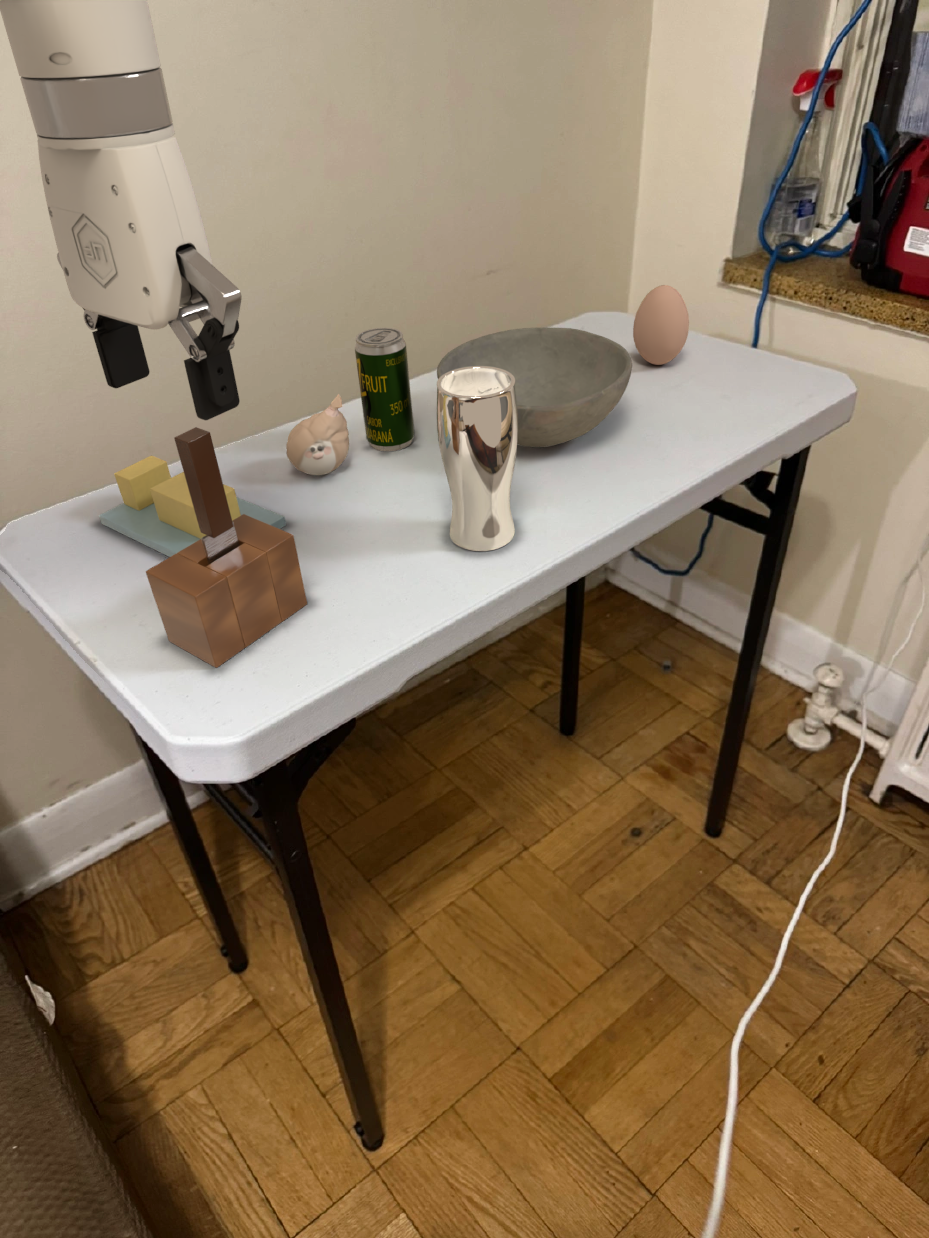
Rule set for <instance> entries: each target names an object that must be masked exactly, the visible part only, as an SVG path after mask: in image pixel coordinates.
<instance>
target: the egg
mask: <svg viewBox="0 0 929 1238" xmlns="http://www.w3.org/2000/svg"><path fill="white" fill-rule="evenodd" d="M686 304H687V303H686V302H685V300H684V297H683V296H682V295H681V293H680V292H679V291H678V289H676V288H675V287H673V286H671V285H668V284H661V285H659V286H656V287H654V288H653V289H651V290H649V292H647V293H646V295H645V297H644V298H643V299H642V301H641V302H640V305H639V307H638V309H637V311H636V313H635V315H634V320H633V327H632V338H633V342H634V346H635V348H636V350H637V352H638V354H639V355H640V356H641V358H643V359H644V360H645V361H646V362H648V363H650V364H651V365H655V366H661V365H666V364H668V363H670V362H671V361H673V360H674V359H675V358H676V357H677V356H678V355H679V354H680V353H681V351H682V350H683V348H684V347H685V345H686V343H687V341H688V336H689V332H690V331H689V330H690V329H689V328H690V318H689V317H690V316H689V311H688V309H687V305H686Z"/></svg>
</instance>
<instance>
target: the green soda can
mask: <svg viewBox="0 0 929 1238" xmlns="http://www.w3.org/2000/svg"><path fill="white" fill-rule="evenodd" d="M407 349H408V348H407V342H406V341H405V339H404V333H403V332H402V331H401V330H400V329H397V328H392V327H376V328H370V329H367V330H363V331H361V332H359V333H358V334H357V335H356V336H355V346H354V355H355V363H356V369H357V376H358V385H359V392H360V400H361V407H362V414H363V415H362V416H363V422H364V423H363V424H364V430H365V431H364V432H365V438H366V440H367V442H368V444H369V446H370V448H372V449H374V450H376V451H380V452H396V451H400V450H403V449H406V448H407V447H409V446H410V445H412V442H413V440H414V438H415V425H414V413H413V403H412V393H411V382H410V373H409V372H410V371H409V363H408V362H409V361H408V352H407V351H408V350H407Z"/></svg>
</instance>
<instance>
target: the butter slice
mask: <svg viewBox="0 0 929 1238" xmlns="http://www.w3.org/2000/svg"><path fill="white" fill-rule="evenodd" d="M113 475H114V479H115V481H116V484H117V487H118V490H119V493H120V496H121V499H122V503H124V504H125V505H127V506H129V507H132V508H134V509H136V510H138V511H140V510H142V509H144V508H145V507H147V506H149V505H151V504H153V503H154V501H153V498H152V495H151V492H150V488H152V487H154V486H156V485H158V484H160V483H162V482H164V481H166V480H168V479H170V478H172V476H171V472H170V468H169V465H168V462H167V461H166V460H163V459H162V458H159V457H157V456H154V455H149V456H147V457H145V458H143V459H141V460H139V461H137V462H135V463H133V464H131V465H128V466H126V467H125V468H122V469H120V470H118V471H116V472H114V473H113Z"/></svg>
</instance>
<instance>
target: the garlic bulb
mask: <svg viewBox="0 0 929 1238" xmlns="http://www.w3.org/2000/svg"><path fill="white" fill-rule="evenodd" d="M342 400H343V399H342V396H341V395H340V393H338V394H337V395H336V396H335V397H334V399H333V400H332V401H331V402H330V404H329V406H327V407H326V408H325V409H324V410H322V411H321V412H318V413H313V414H312V415H311V416H310V417H307V418H305V419H303V420H301V421H299V422H298V423H297V424H296V425H294V426H293V428H292V429H291V430H290V432H289V434H288V436H287V442H286V445H285V449H286V450H285V451H286V457H287V459H288V461H289V462H290V463H291V465H293V467H294V468H295V469H297V470H298V471H299V472H301V473H304V474H307V475H311V476H325V475H327V474H330V473H332V472H334V471H335V470H336V469H338V468H339V467H340V466H342V464H343V463H344V461H345V460H346V458H347V456H348V454H349V449H350V437H349V435H350V432H349V429H348V422H347V419H346V418H345V416H344V414H343V413H342V412H341V411H340V410H339V409H341V408H343V401H342Z"/></svg>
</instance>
